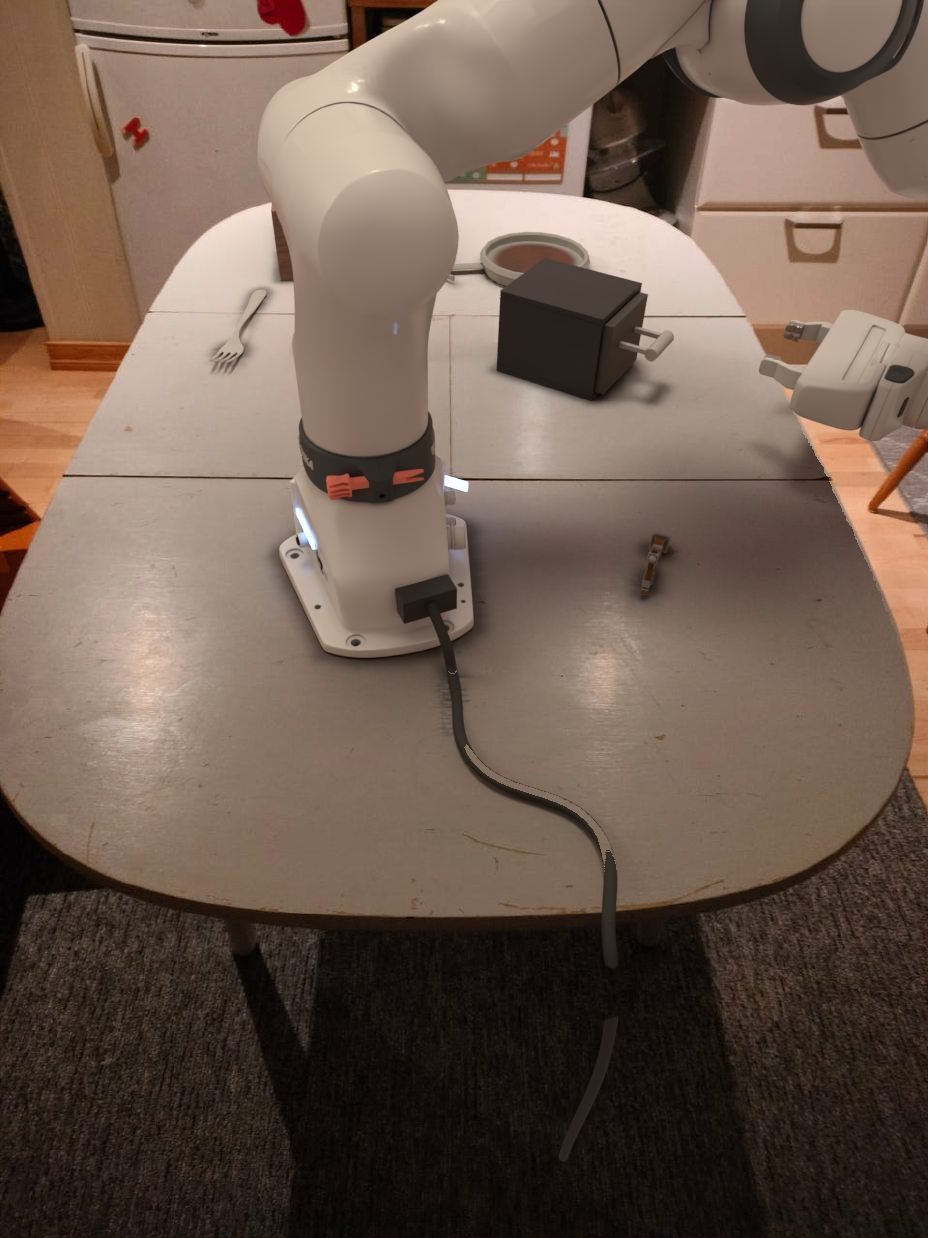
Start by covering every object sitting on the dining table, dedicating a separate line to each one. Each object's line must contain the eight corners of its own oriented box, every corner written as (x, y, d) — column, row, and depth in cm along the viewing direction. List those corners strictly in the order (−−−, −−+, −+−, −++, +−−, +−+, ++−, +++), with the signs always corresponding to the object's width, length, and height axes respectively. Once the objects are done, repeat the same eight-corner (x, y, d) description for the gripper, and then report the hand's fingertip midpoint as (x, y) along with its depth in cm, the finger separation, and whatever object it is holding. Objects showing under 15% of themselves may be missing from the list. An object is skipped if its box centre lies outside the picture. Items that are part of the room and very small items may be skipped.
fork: (272, 290, 124) (271, 278, 123) (233, 374, 107) (230, 361, 106) (251, 289, 124) (249, 277, 123) (208, 373, 108) (205, 360, 106)
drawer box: (628, 361, 112) (642, 282, 104) (591, 400, 105) (603, 319, 97) (537, 334, 116) (544, 257, 109) (496, 370, 109) (500, 290, 102)
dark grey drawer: (672, 370, 109) (686, 304, 102) (641, 406, 102) (654, 338, 96) (551, 334, 115) (557, 270, 108) (514, 366, 108) (518, 300, 102)
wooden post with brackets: (632, 594, 79) (644, 549, 77) (642, 571, 86) (653, 529, 84) (651, 599, 79) (664, 554, 77) (660, 576, 86) (671, 533, 84)
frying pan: (403, 236, 133) (576, 226, 136) (404, 255, 136) (575, 245, 138) (413, 283, 122) (603, 271, 124) (414, 302, 124) (601, 290, 126)
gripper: (932, 312, 94) (808, 283, 99) (894, 395, 81) (754, 356, 86) (910, 364, 98) (792, 334, 103) (870, 450, 86) (738, 410, 91)
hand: (774, 345), depth 95 cm, fingers open, 8 cm apart
